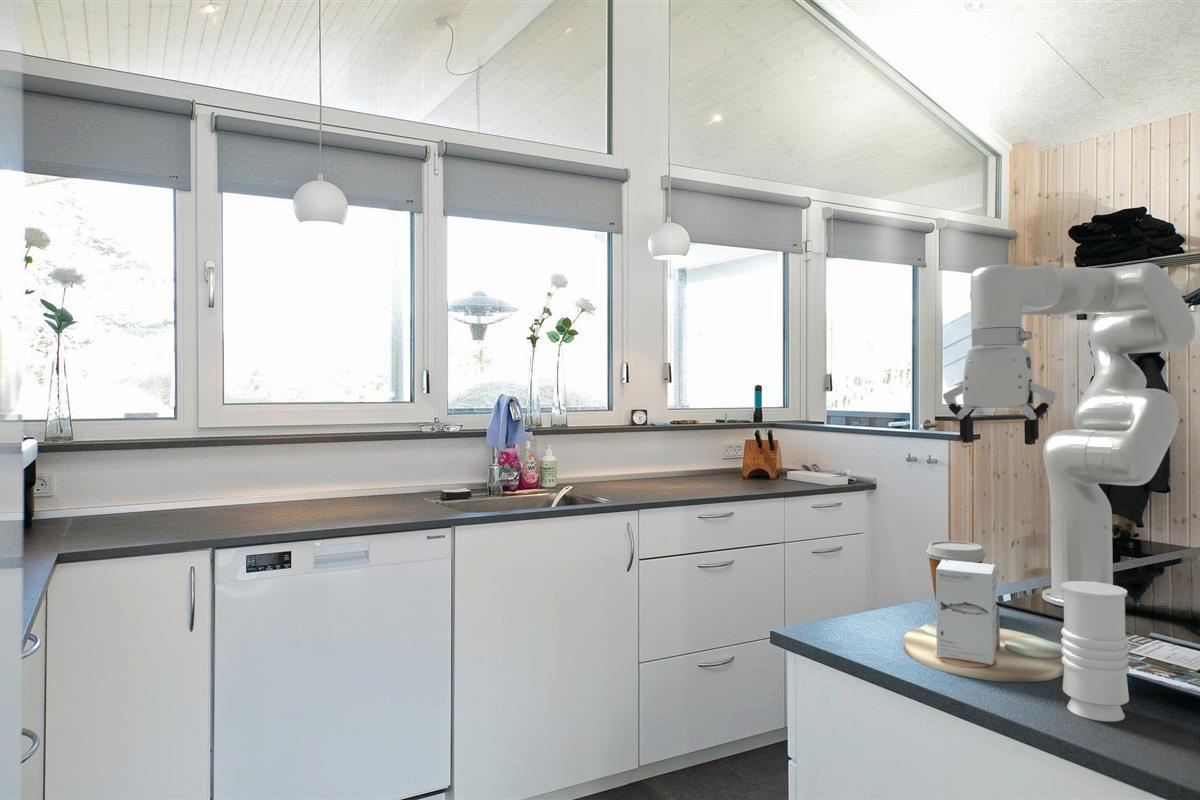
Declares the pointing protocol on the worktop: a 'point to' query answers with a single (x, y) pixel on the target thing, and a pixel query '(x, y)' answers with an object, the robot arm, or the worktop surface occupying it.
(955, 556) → the disposable coffee cup
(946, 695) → the worktop surface
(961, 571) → the supplement box
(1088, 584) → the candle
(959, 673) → the carrier
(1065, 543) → the robot arm
